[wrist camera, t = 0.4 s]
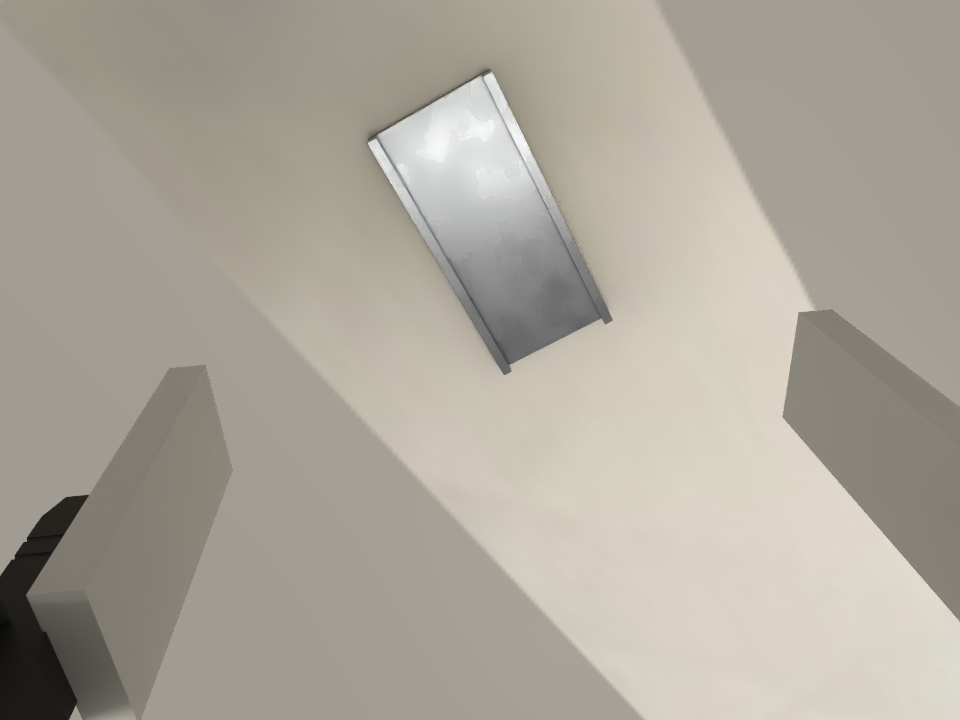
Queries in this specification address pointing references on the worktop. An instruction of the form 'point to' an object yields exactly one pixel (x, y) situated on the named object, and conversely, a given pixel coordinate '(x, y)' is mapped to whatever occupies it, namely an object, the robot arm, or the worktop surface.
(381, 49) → the worktop surface
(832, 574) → the worktop surface
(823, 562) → the worktop surface
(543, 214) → the rail
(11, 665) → the robot arm
